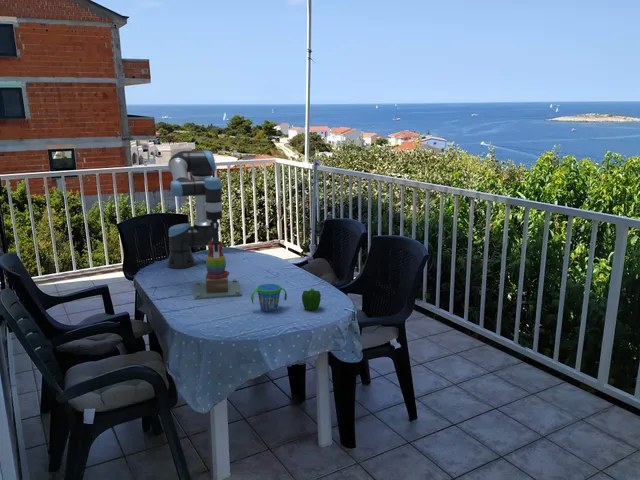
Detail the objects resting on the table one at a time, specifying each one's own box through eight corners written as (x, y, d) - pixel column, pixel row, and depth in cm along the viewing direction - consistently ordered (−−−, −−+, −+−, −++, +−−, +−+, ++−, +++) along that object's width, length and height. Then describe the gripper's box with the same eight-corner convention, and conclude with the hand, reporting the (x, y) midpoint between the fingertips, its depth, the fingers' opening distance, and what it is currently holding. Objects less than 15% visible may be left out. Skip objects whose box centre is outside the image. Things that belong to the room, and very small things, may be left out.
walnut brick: (207, 284, 259) (206, 273, 258) (227, 283, 261) (227, 272, 260) (206, 293, 247) (206, 281, 245) (228, 292, 248) (227, 280, 247)
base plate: (194, 285, 262) (194, 281, 261) (238, 282, 267) (238, 278, 266) (194, 299, 241) (194, 295, 241) (242, 296, 246) (242, 292, 246)
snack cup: (285, 303, 236) (284, 282, 234) (288, 311, 226) (288, 289, 224) (250, 306, 233) (249, 284, 230) (252, 314, 223) (252, 292, 220)
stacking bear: (230, 273, 257) (229, 238, 253) (224, 279, 247) (223, 243, 243) (208, 273, 258) (207, 238, 254) (202, 279, 248) (200, 242, 244)
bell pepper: (302, 305, 234) (302, 284, 232) (320, 305, 234) (320, 284, 231) (301, 312, 226) (301, 290, 223) (320, 312, 225) (320, 290, 223)
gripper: (205, 206, 256) (207, 248, 261) (206, 216, 232) (208, 261, 237) (220, 205, 258) (222, 247, 263) (223, 215, 234) (225, 260, 239)
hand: (215, 254), depth 250 cm, fingers open, 13 cm apart
